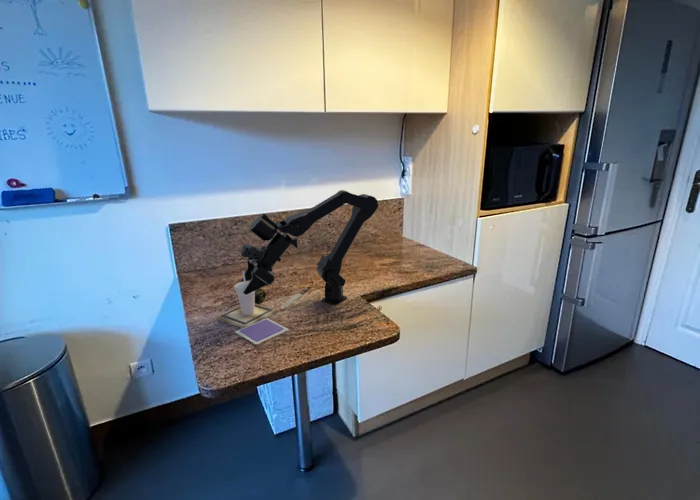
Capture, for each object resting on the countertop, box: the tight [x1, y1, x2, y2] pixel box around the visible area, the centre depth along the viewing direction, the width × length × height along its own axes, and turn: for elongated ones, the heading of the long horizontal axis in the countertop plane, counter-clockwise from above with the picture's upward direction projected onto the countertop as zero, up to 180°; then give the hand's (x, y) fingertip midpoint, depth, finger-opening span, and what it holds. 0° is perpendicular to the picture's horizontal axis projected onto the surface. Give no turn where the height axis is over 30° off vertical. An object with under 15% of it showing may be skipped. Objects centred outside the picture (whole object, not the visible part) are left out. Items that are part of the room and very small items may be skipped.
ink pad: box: [234, 317, 290, 344], centre depth 106 cm, size 11×11×1 cm
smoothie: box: [234, 269, 256, 315], centre depth 115 cm, size 6×6×14 cm
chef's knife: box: [284, 286, 311, 308], centre depth 130 cm, size 19×1×3 cm
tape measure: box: [255, 287, 267, 304], centre depth 128 cm, size 7×7×4 cm
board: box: [216, 303, 277, 329], centre depth 116 cm, size 13×13×1 cm
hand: (243, 288), depth 114 cm, fingers open, 9 cm apart
